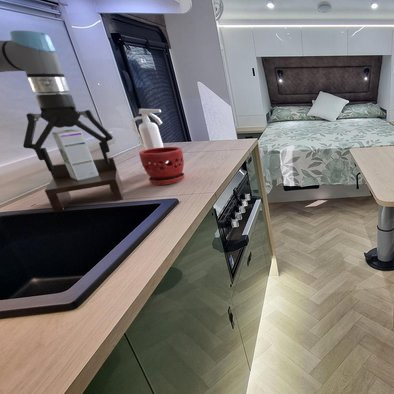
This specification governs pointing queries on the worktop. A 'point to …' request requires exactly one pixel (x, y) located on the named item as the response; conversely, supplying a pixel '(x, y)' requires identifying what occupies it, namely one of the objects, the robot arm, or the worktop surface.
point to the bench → (82, 183)
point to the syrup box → (75, 154)
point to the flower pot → (163, 164)
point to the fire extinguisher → (148, 130)
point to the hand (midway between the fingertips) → (80, 166)
